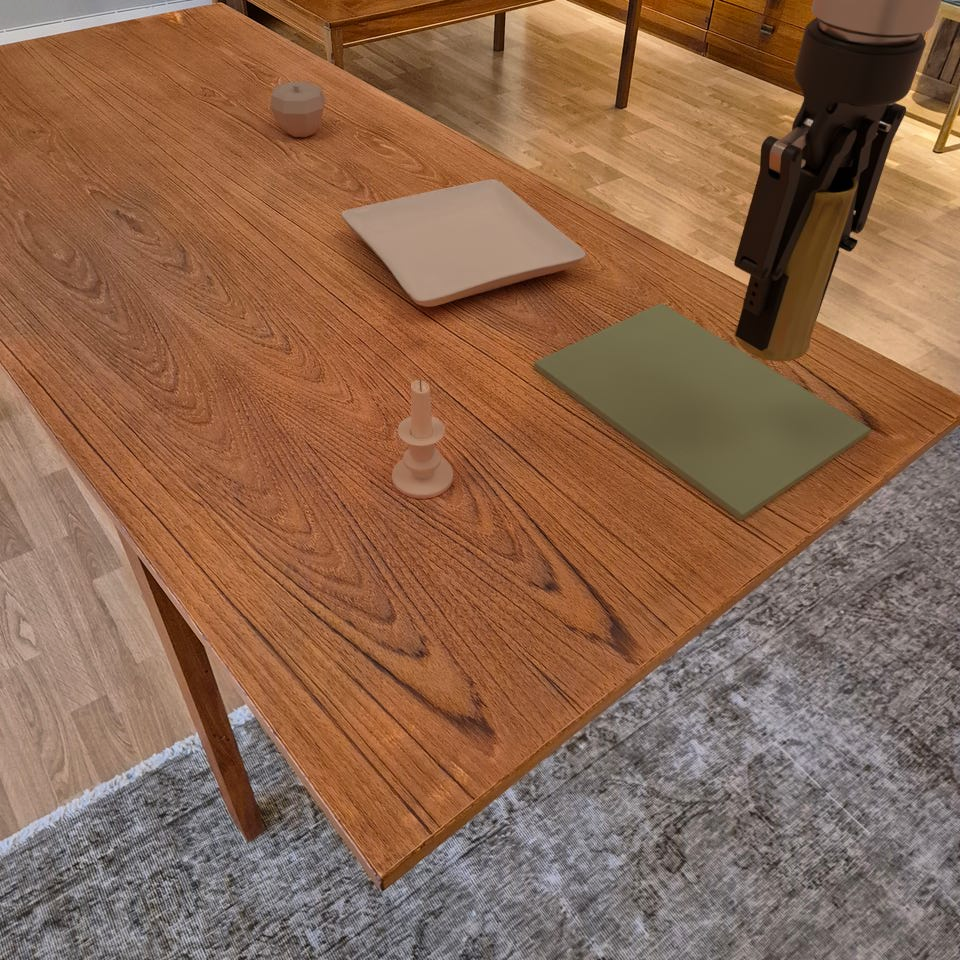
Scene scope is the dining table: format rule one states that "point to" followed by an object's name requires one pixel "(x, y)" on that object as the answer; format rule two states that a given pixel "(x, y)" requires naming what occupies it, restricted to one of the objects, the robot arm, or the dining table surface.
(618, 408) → the mat
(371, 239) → the plate
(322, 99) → the apple
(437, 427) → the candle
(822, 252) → the fluted gold cylinder
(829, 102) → the robot arm
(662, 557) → the dining table surface
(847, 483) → the dining table surface
